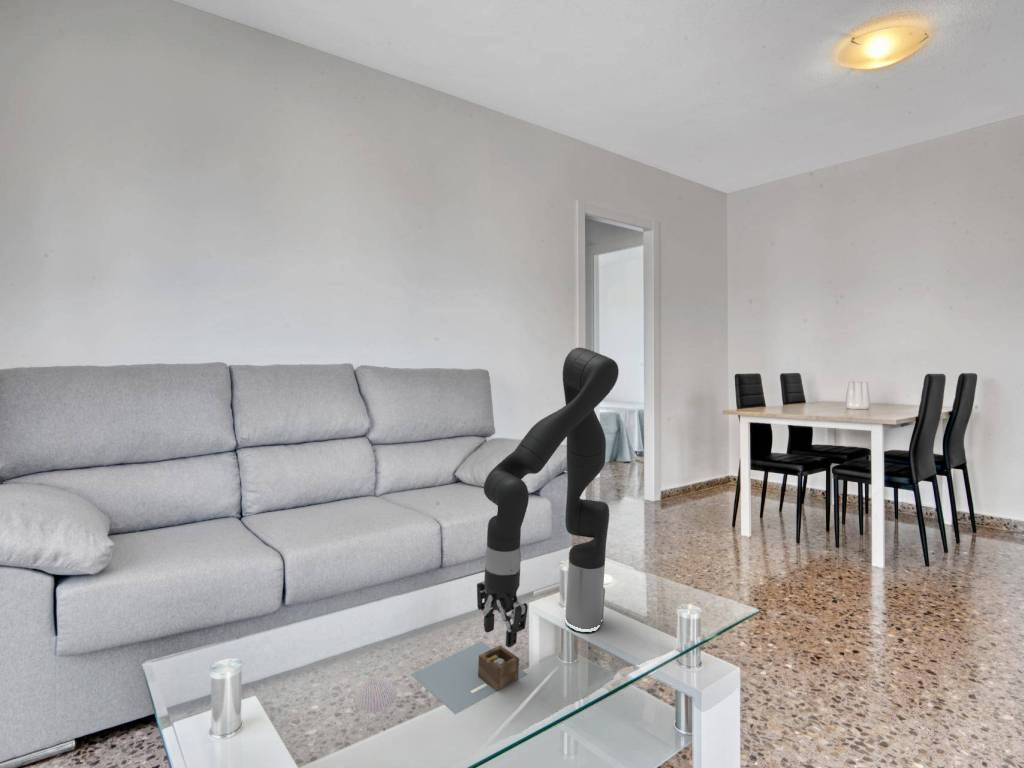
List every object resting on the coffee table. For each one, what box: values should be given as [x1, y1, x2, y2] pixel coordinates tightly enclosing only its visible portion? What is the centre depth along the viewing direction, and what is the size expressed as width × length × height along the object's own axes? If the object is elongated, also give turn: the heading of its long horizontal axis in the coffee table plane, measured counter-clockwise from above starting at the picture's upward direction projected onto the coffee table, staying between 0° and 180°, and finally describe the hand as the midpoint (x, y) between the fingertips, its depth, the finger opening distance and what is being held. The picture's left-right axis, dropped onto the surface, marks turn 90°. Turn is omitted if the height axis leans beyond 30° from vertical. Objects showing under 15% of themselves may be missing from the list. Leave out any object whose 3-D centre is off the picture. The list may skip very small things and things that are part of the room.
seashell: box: [352, 677, 398, 713], centre depth 121 cm, size 10×6×10 cm
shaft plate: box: [410, 641, 528, 715], centre depth 129 cm, size 20×16×5 cm
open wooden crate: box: [478, 645, 520, 692], centre depth 128 cm, size 6×6×6 cm
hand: (499, 638), depth 127 cm, fingers open, 6 cm apart
